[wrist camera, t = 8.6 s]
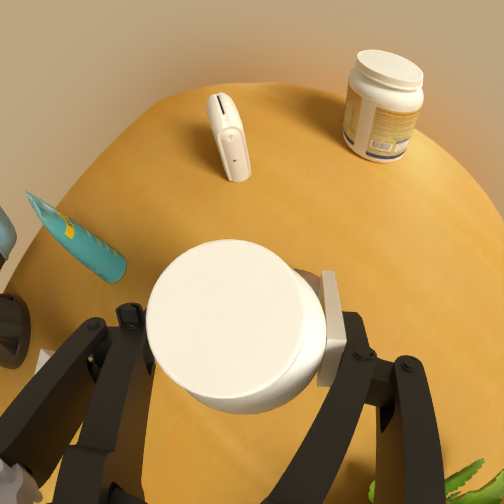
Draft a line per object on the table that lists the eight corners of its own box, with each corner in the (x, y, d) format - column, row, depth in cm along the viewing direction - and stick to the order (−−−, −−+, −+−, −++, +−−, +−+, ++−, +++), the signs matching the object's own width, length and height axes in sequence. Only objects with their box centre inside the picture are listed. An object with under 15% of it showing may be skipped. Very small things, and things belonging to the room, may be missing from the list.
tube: (137, 265, 39) (54, 192, 21) (120, 292, 37) (27, 232, 20) (108, 246, 41) (33, 177, 24) (93, 270, 39) (10, 210, 22)
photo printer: (255, 179, 42) (243, 118, 31) (228, 186, 42) (210, 127, 31) (240, 139, 47) (228, 83, 36) (217, 145, 47) (200, 90, 36)
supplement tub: (413, 144, 42) (438, 73, 27) (386, 177, 40) (416, 94, 24) (361, 113, 47) (372, 41, 32) (328, 140, 44) (335, 57, 29)
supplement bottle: (230, 299, 21) (160, 198, 9) (317, 315, 19) (355, 224, 8) (208, 383, 18) (95, 383, 7) (298, 404, 17) (315, 456, 5)
